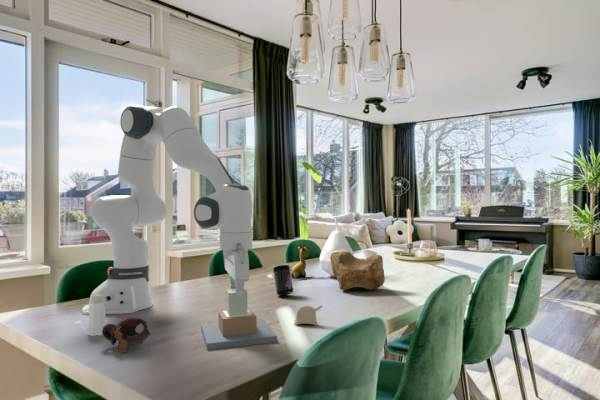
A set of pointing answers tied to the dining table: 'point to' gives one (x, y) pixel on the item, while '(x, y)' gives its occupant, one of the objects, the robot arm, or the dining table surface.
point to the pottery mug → (126, 333)
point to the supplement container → (283, 280)
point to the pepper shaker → (96, 316)
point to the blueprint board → (236, 339)
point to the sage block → (236, 303)
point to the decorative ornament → (306, 315)
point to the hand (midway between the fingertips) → (236, 292)
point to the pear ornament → (334, 248)
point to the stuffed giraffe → (300, 266)
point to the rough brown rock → (357, 271)
